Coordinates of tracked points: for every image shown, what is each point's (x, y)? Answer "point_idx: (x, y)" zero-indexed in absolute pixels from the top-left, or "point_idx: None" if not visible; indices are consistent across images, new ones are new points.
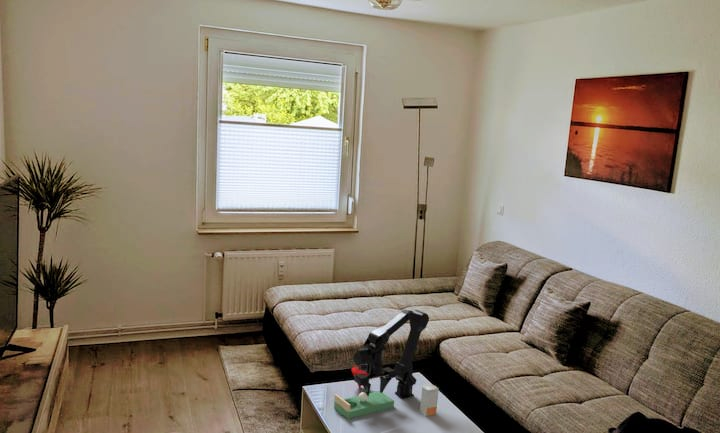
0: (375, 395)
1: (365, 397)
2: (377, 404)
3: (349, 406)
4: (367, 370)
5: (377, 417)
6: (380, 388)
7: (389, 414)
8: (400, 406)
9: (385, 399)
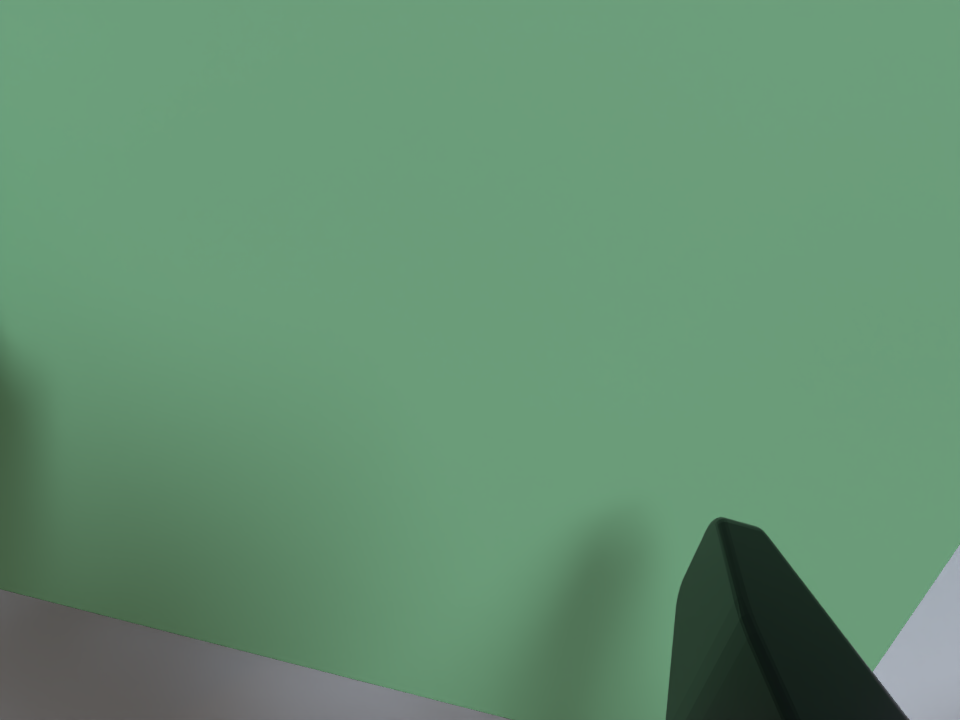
0: (654, 195)
1: None
2: (185, 620)
3: None
4: None
5: (84, 627)
6: (729, 687)
7: (392, 709)
8: (927, 698)
9: (659, 611)
